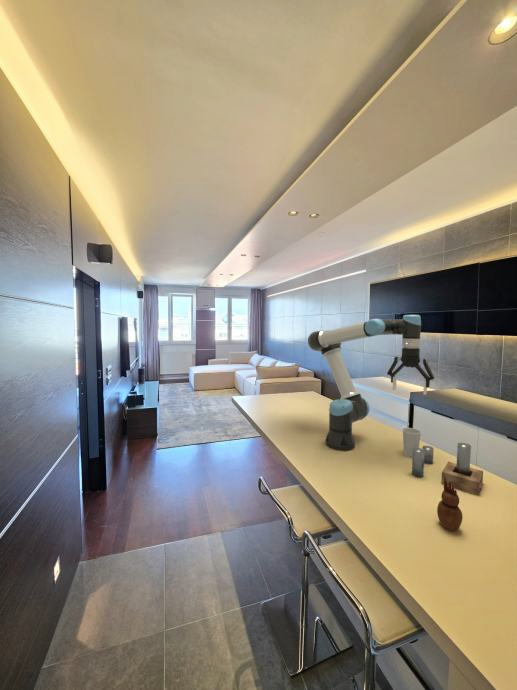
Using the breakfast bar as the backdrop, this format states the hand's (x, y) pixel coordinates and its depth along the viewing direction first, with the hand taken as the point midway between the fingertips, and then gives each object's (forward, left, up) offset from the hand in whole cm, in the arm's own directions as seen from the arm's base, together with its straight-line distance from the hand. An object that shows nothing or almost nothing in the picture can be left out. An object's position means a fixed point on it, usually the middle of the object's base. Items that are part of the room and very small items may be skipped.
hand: (409, 391), depth 141 cm
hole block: (+24, -11, -32) cm, 41 cm away
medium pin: (+9, -16, -32) cm, 37 cm away
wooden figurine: (+25, -44, -32) cm, 60 cm away
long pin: (+24, -11, -32) cm, 41 cm away
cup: (+1, +3, -32) cm, 32 cm away
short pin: (+9, 0, -32) cm, 33 cm away
